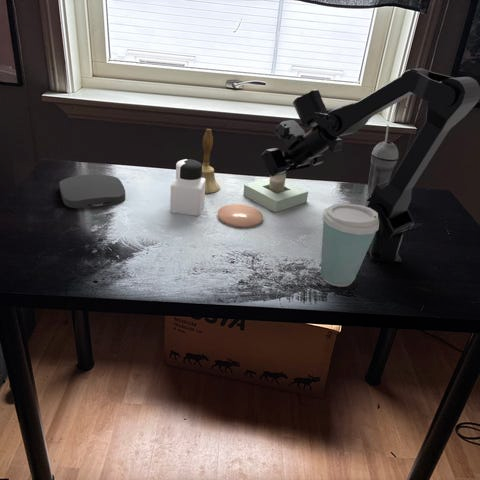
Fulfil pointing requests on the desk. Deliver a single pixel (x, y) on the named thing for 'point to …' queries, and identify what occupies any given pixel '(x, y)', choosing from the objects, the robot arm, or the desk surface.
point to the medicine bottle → (188, 188)
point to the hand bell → (208, 171)
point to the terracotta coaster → (240, 215)
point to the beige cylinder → (277, 183)
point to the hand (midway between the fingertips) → (274, 171)
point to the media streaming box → (92, 191)
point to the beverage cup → (382, 163)
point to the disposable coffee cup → (346, 241)
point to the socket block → (275, 195)
